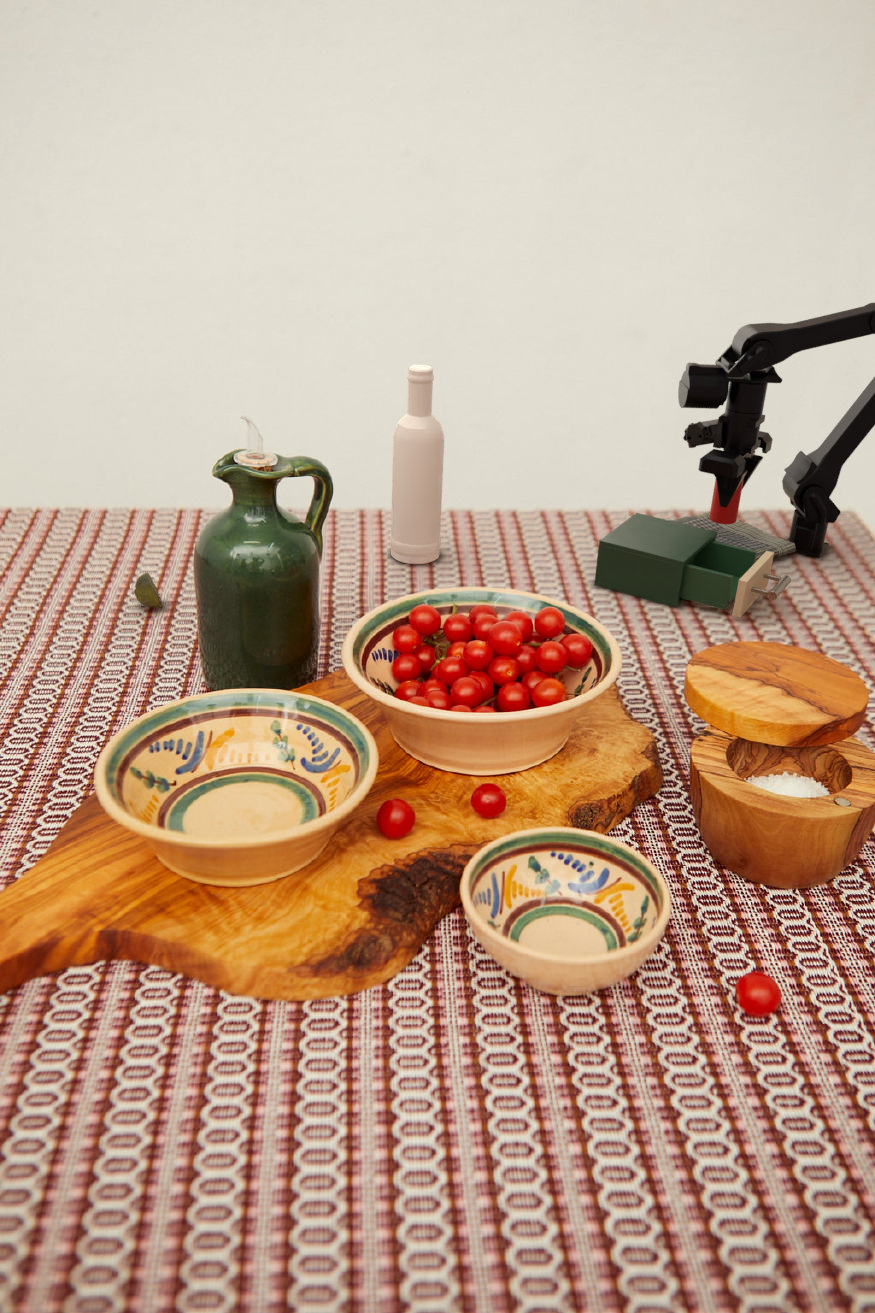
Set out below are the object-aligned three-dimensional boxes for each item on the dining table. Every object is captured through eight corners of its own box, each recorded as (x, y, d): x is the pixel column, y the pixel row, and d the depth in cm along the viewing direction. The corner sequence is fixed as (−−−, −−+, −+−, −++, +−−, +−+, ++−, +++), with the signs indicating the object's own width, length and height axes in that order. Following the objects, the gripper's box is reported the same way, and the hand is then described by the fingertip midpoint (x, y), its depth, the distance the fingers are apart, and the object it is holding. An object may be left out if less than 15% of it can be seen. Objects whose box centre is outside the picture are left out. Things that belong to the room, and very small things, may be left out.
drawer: (792, 593, 166) (800, 558, 163) (766, 625, 156) (774, 588, 153) (690, 567, 173) (695, 533, 170) (659, 595, 163) (664, 560, 160)
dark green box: (709, 575, 173) (717, 531, 169) (676, 607, 162) (684, 561, 158) (630, 555, 179) (636, 512, 175) (594, 585, 168) (599, 540, 164)
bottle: (379, 554, 175) (382, 366, 161) (412, 541, 180) (418, 357, 166) (417, 569, 170) (423, 376, 156) (449, 555, 176) (458, 367, 161)
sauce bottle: (714, 512, 184) (723, 455, 179) (739, 518, 182) (750, 460, 177) (705, 520, 181) (714, 462, 176) (731, 526, 179) (741, 467, 174)
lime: (152, 596, 158) (149, 564, 156) (175, 606, 156) (172, 574, 154) (128, 607, 155) (124, 574, 153) (151, 616, 153) (148, 584, 150)
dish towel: (799, 554, 181) (802, 536, 180) (723, 577, 172) (726, 558, 171) (716, 517, 195) (719, 500, 193) (642, 537, 186) (644, 519, 184)
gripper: (714, 388, 183) (700, 477, 190) (674, 412, 169) (660, 508, 176) (780, 399, 178) (763, 490, 185) (744, 426, 164) (727, 523, 171)
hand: (728, 502), depth 180 cm, fingers closed on sauce bottle, 4 cm apart
